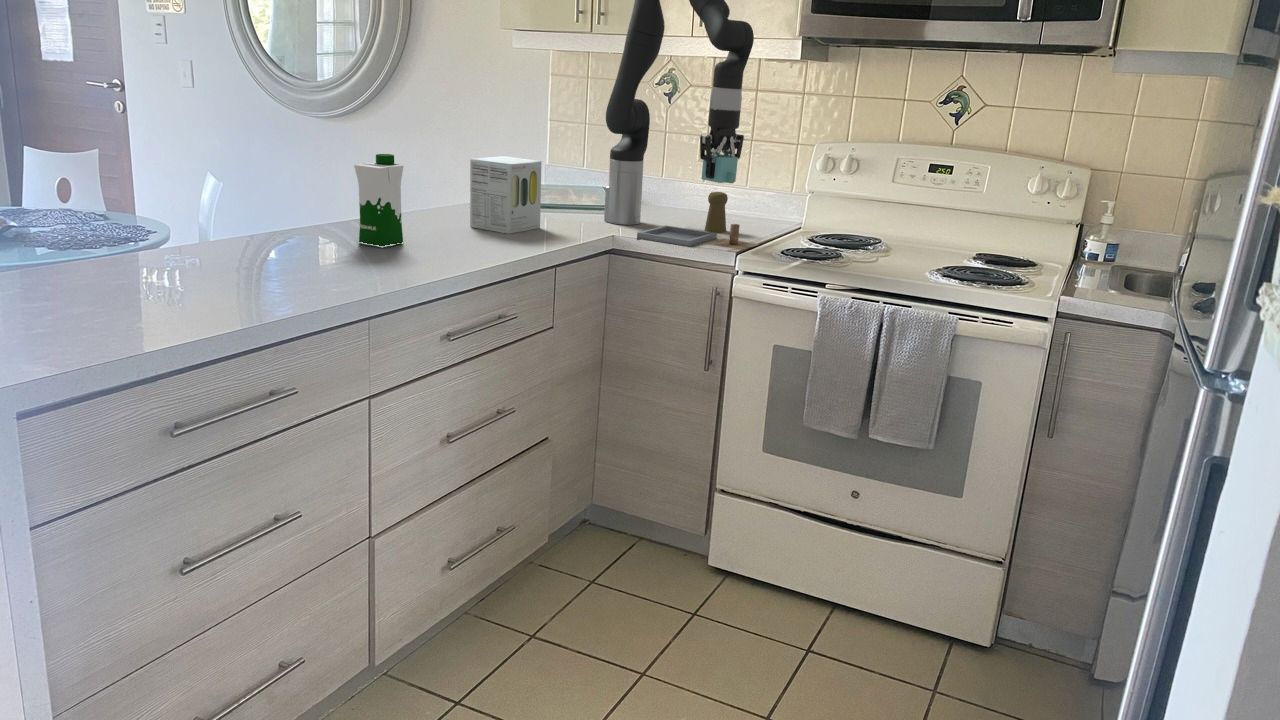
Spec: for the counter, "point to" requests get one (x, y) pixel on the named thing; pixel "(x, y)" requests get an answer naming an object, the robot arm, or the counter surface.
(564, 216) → the counter surface
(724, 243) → the square board with knob
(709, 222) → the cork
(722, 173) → the open box
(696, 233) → the tray
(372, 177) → the milk carton
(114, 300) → the counter surface
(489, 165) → the supplement box
